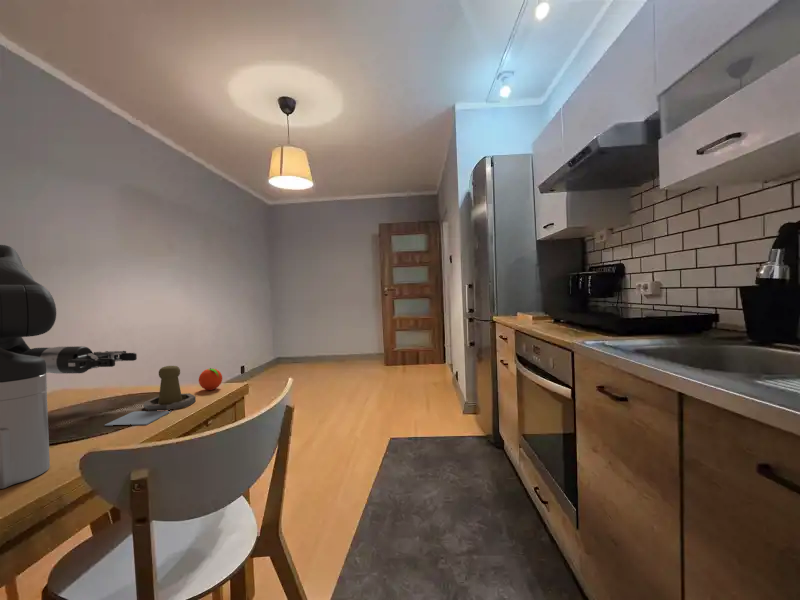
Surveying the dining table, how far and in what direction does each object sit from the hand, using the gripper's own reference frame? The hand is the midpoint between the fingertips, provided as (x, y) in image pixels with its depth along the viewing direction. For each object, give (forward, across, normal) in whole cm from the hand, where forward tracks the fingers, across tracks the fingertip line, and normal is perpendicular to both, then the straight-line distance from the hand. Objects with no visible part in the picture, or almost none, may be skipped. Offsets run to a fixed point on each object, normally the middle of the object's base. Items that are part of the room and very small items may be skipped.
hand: (125, 359), depth 106 cm
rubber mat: (+11, -12, +13) cm, 21 cm away
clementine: (+16, +16, +13) cm, 26 cm away
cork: (+12, 0, +13) cm, 18 cm away
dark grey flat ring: (+12, 0, +13) cm, 18 cm away
